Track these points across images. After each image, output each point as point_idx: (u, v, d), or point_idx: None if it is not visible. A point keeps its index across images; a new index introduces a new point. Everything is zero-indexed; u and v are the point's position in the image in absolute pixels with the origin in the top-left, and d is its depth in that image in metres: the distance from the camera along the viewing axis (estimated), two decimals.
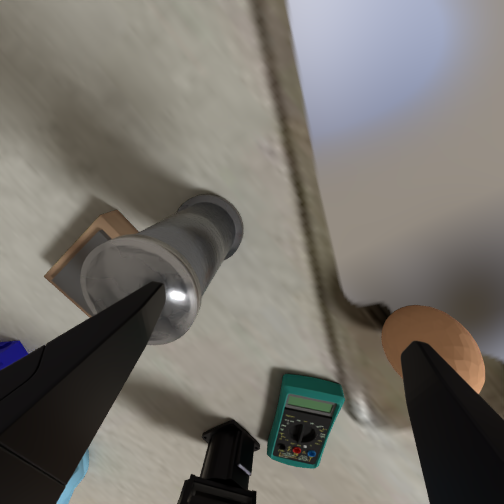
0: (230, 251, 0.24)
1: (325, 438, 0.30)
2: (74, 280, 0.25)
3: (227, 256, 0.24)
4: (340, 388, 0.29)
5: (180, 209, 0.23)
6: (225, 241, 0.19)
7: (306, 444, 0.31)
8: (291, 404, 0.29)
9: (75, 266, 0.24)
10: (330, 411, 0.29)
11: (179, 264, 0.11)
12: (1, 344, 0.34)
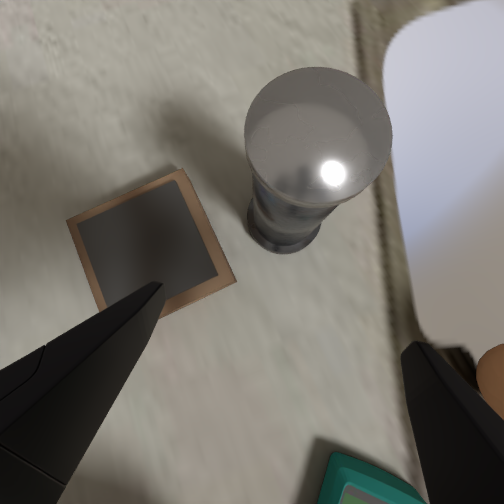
0: (303, 243, 0.21)
1: None
2: (107, 229, 0.20)
3: (298, 248, 0.21)
4: (417, 493, 0.19)
5: None
6: None
7: None
8: None
9: (120, 212, 0.20)
10: None
11: (382, 104, 0.10)
12: None
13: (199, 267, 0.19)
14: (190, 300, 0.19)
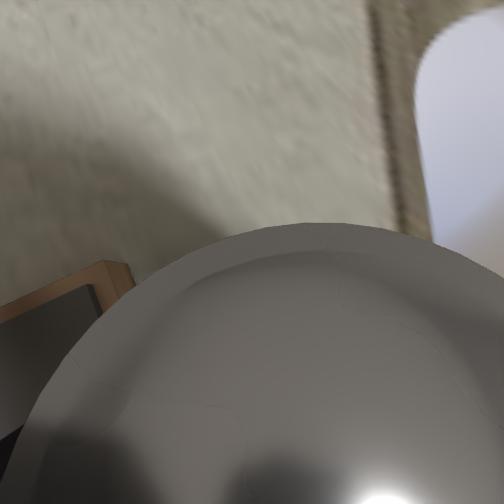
0: None
1: None
2: None
3: None
4: None
5: None
6: None
7: None
8: None
9: None
10: None
11: None
12: None
13: None
14: None
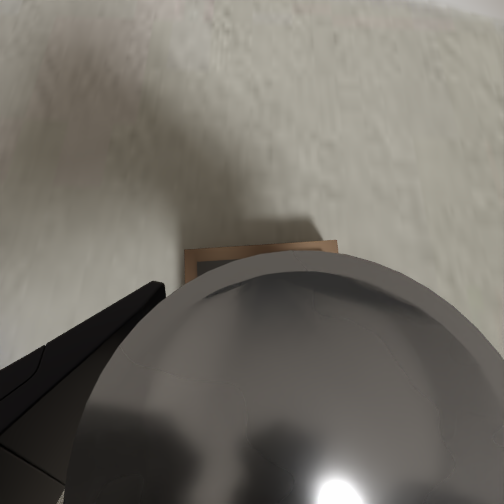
0: None
1: None
2: None
3: None
4: None
5: None
6: None
7: None
8: None
9: None
10: None
11: None
12: None
13: None
14: None
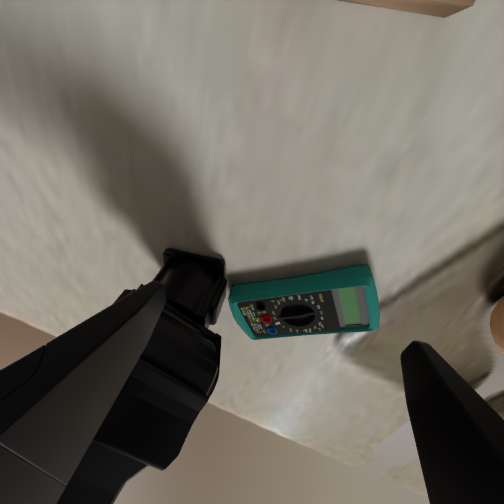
0: None
1: (305, 333, 0.26)
2: None
3: None
4: None
5: None
6: None
7: (283, 323, 0.26)
8: (337, 292, 0.22)
9: None
10: (348, 325, 0.25)
11: None
12: None
13: None
14: None
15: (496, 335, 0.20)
